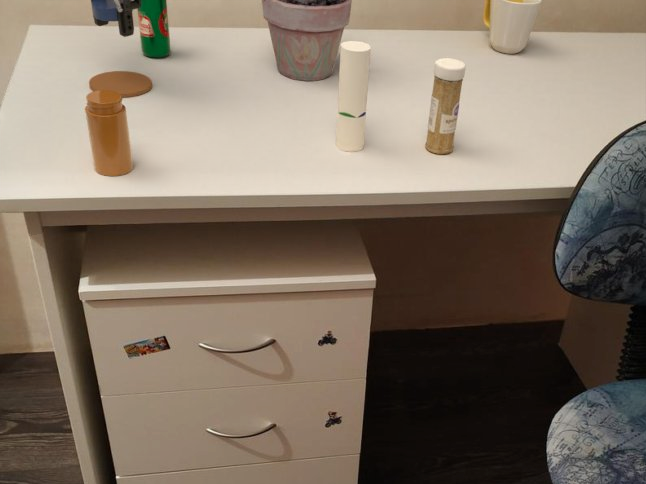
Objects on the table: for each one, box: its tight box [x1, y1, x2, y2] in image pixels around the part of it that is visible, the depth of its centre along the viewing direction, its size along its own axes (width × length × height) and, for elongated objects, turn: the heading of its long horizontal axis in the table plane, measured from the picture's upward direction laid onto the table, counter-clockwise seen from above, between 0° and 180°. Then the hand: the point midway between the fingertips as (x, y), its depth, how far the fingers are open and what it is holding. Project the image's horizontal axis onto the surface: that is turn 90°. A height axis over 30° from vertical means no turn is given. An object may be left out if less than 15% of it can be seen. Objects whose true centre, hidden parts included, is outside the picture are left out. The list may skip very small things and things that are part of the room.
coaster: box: [88, 70, 153, 98], centre depth 134 cm, size 10×10×1 cm
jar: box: [84, 90, 134, 177], centre depth 109 cm, size 5×5×10 cm
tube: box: [335, 40, 372, 153], centre depth 120 cm, size 4×4×15 cm
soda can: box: [136, 0, 172, 59], centre depth 142 cm, size 5×5×12 cm
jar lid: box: [91, 0, 123, 22], centre depth 126 cm, size 6×6×2 cm
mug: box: [482, 0, 543, 55], centre depth 164 cm, size 14×10×10 cm
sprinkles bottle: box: [424, 57, 467, 155], centre depth 122 cm, size 5×5×13 cm
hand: (114, 29), depth 128 cm, fingers closed on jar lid, 5 cm apart
